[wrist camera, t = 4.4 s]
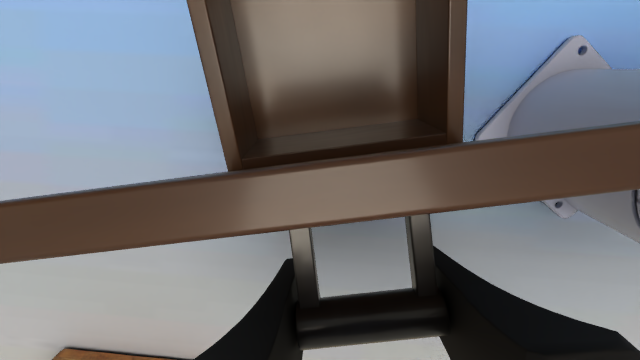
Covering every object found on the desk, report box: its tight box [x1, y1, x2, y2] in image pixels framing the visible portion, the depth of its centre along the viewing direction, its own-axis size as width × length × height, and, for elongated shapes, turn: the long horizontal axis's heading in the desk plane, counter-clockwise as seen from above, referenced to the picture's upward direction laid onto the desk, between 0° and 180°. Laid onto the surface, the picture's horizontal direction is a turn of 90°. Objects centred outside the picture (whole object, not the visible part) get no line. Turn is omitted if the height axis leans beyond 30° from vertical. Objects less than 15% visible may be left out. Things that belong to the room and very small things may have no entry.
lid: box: [0, 121, 640, 350], centre depth 9 cm, size 11×12×6 cm
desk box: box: [187, 0, 467, 171], centre depth 16 cm, size 11×12×5 cm
